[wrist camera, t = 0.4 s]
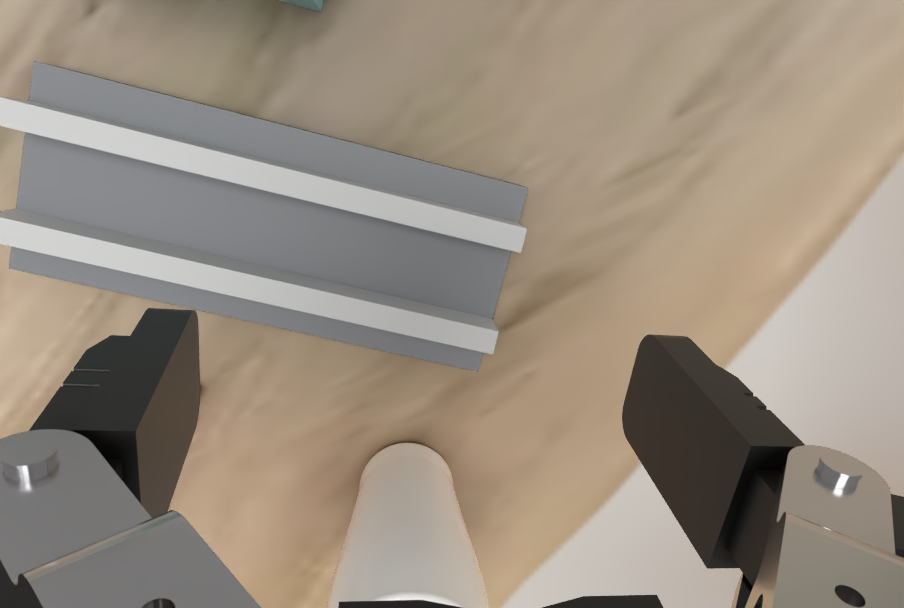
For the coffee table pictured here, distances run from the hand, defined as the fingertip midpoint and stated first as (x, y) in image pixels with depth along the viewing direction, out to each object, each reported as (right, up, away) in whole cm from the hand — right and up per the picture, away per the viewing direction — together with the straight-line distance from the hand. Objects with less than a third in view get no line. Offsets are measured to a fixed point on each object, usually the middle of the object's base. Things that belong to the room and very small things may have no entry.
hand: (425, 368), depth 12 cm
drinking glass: (-2, -9, +28) cm, 29 cm away
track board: (-9, +5, +24) cm, 26 cm away
